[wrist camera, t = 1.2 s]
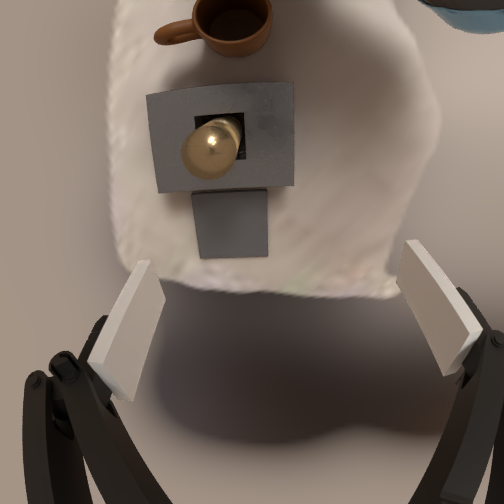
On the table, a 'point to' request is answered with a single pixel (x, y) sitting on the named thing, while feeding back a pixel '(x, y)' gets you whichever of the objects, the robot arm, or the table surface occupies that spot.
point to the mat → (231, 223)
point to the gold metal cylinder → (212, 148)
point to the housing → (256, 134)
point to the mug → (223, 26)
